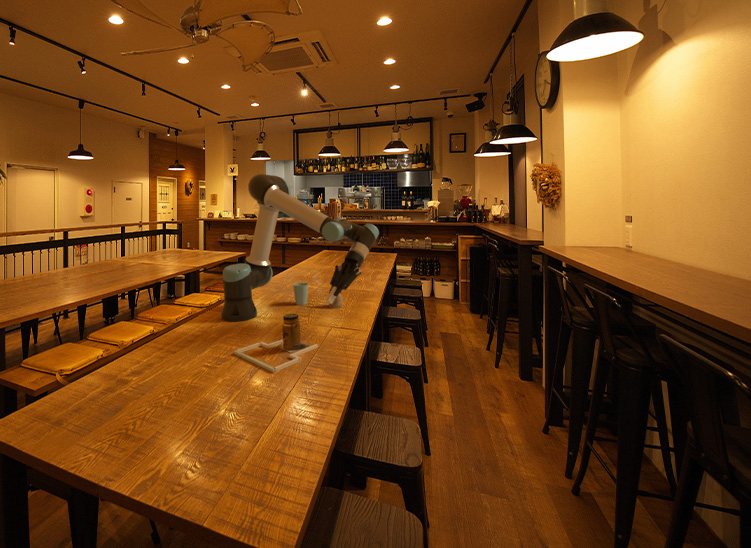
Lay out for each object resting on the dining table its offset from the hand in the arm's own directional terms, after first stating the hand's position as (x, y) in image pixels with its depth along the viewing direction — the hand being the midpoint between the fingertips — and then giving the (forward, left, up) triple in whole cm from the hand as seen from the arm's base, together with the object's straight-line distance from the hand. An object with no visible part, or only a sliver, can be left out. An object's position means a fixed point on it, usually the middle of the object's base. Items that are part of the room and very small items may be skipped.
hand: (328, 302), depth 137 cm
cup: (-42, +22, -13) cm, 49 cm away
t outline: (0, -24, -13) cm, 28 cm away
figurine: (-25, +30, -13) cm, 41 cm away
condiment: (0, -17, -13) cm, 22 cm away
